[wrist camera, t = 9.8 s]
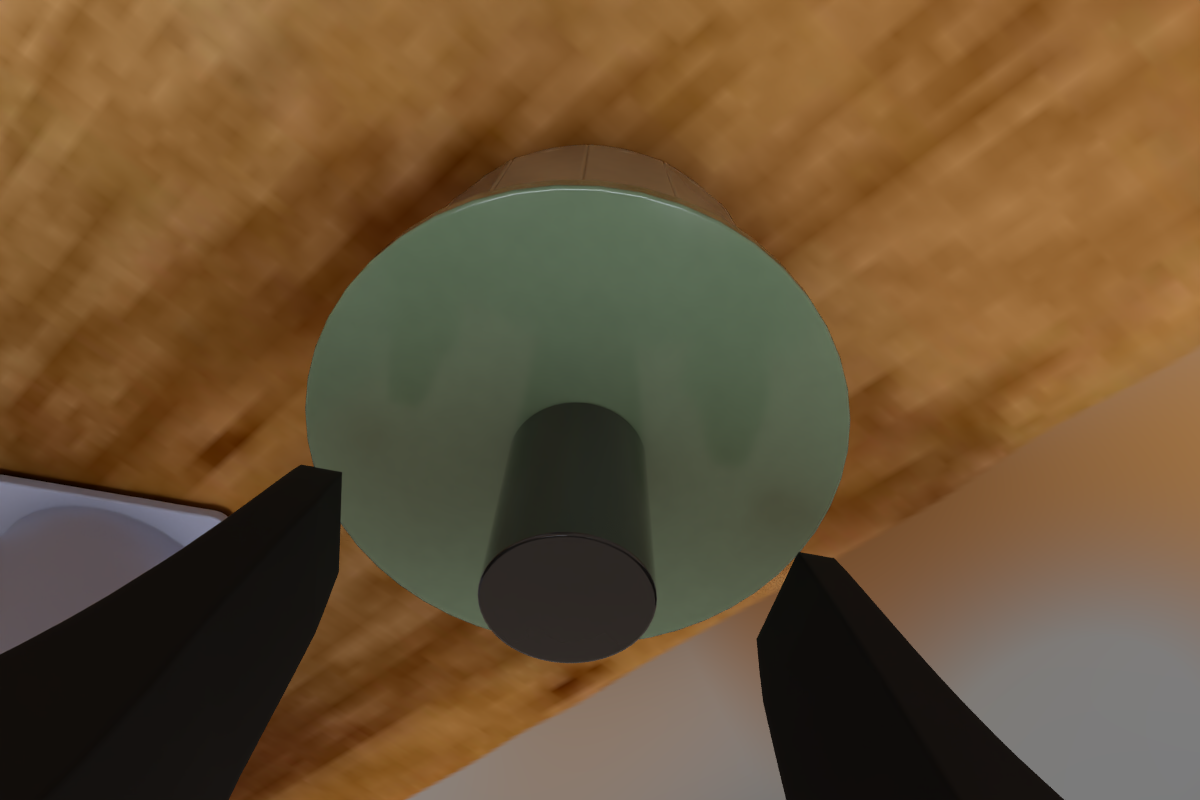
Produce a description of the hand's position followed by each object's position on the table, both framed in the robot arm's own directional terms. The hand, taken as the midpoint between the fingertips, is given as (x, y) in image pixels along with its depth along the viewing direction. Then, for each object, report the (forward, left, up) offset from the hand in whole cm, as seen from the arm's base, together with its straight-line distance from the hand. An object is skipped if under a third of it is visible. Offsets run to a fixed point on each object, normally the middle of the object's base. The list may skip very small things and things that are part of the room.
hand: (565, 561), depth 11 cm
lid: (0, 0, -3) cm, 3 cm away
